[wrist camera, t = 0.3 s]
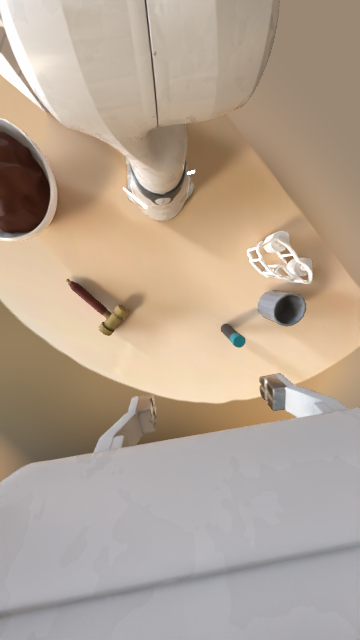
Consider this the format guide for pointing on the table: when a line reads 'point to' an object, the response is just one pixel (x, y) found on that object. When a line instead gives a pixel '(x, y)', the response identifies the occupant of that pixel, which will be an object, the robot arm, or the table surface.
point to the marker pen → (233, 335)
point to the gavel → (101, 309)
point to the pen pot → (282, 307)
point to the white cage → (294, 267)
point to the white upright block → (14, 68)
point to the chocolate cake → (24, 186)
